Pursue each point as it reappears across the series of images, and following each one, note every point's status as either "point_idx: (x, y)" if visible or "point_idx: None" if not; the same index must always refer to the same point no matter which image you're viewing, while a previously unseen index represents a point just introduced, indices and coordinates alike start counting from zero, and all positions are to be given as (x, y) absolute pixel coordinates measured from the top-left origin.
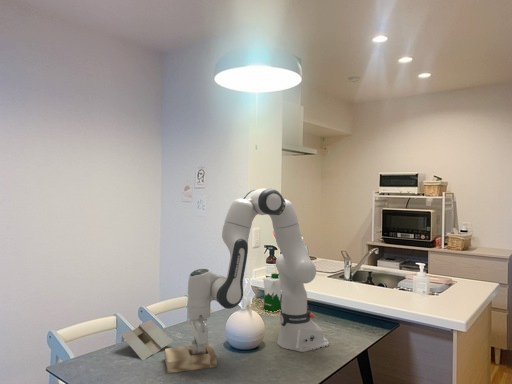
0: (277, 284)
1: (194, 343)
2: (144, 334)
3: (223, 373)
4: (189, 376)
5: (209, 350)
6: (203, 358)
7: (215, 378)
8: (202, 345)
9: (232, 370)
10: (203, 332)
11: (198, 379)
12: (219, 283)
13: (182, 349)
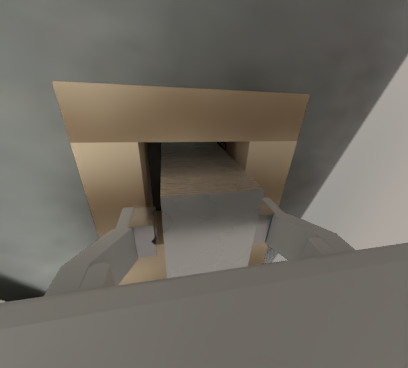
0: None
1: (230, 266)
2: None
3: (343, 77)
4: (288, 210)
5: (202, 124)
6: (283, 177)
7: (354, 126)
8: (299, 220)
9: (349, 8)
10: (267, 299)
11: (321, 186)
12: None
13: (146, 267)
